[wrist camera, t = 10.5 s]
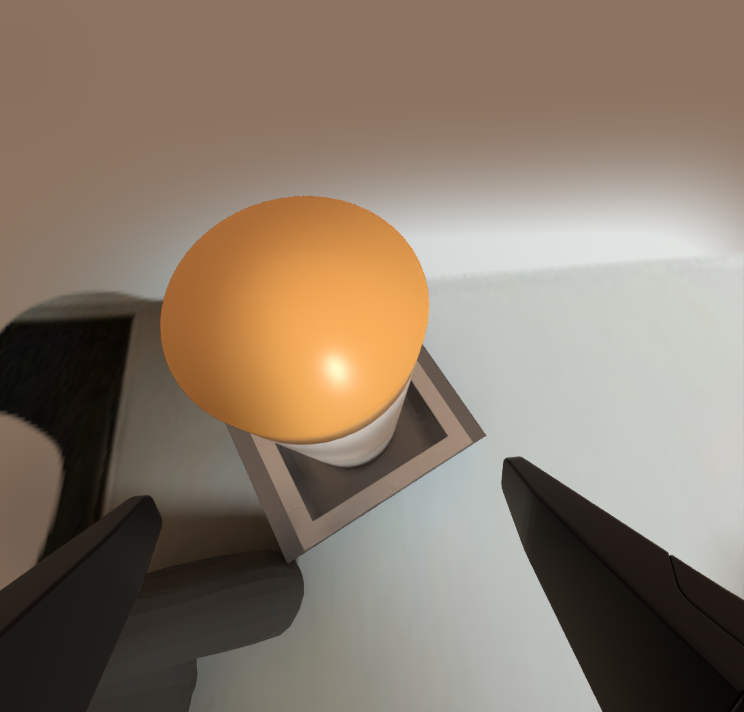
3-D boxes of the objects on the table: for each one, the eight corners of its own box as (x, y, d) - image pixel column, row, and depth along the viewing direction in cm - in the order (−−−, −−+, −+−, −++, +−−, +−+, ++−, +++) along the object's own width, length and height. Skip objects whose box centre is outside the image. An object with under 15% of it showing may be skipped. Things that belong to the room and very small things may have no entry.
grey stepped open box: (298, 554, 19) (269, 580, 14) (235, 414, 22) (191, 393, 17) (474, 440, 21) (505, 426, 16) (396, 326, 24) (401, 282, 19)
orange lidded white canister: (361, 488, 18) (324, 499, 5) (286, 434, 19) (102, 335, 6) (411, 408, 19) (477, 265, 7) (338, 362, 20) (275, 162, 8)
